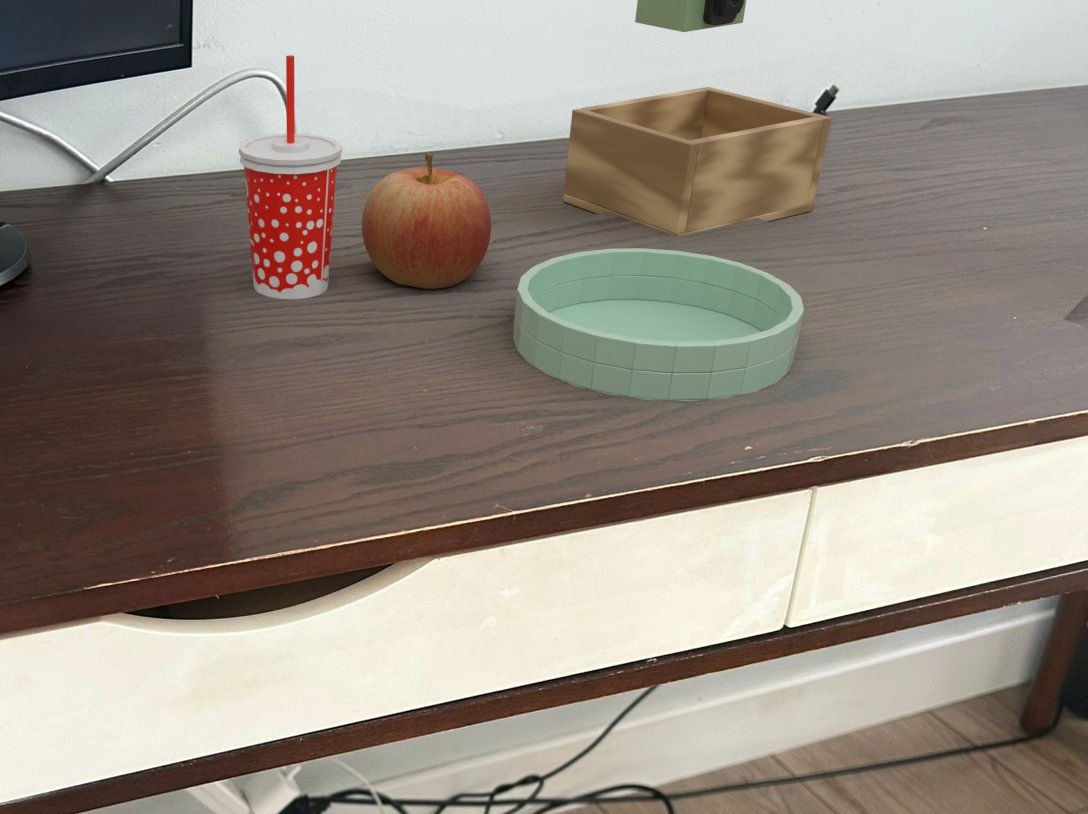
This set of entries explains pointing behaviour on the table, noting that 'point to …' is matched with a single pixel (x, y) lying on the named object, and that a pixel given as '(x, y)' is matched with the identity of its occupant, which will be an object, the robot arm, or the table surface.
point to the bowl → (657, 324)
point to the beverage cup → (290, 206)
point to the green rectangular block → (677, 14)
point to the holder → (694, 160)
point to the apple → (426, 227)
